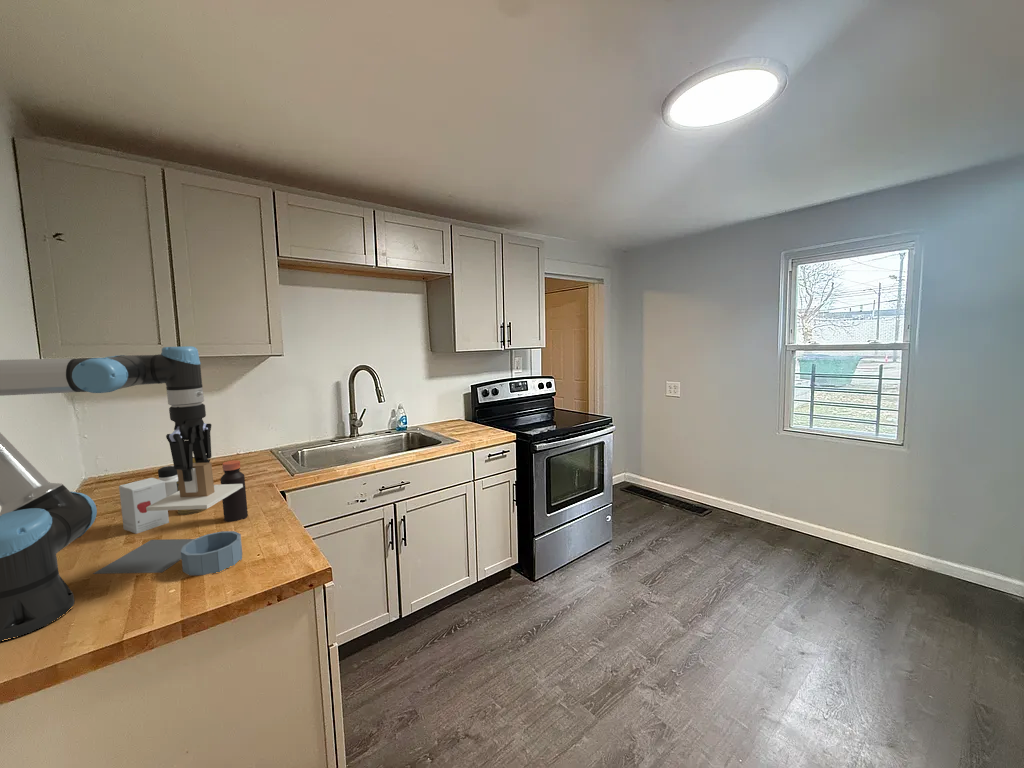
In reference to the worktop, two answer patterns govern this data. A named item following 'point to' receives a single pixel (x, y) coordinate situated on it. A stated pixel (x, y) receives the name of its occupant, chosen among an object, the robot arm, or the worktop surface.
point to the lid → (196, 500)
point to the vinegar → (236, 501)
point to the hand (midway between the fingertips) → (197, 489)
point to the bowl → (211, 553)
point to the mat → (148, 557)
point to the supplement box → (142, 505)
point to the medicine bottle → (169, 479)
